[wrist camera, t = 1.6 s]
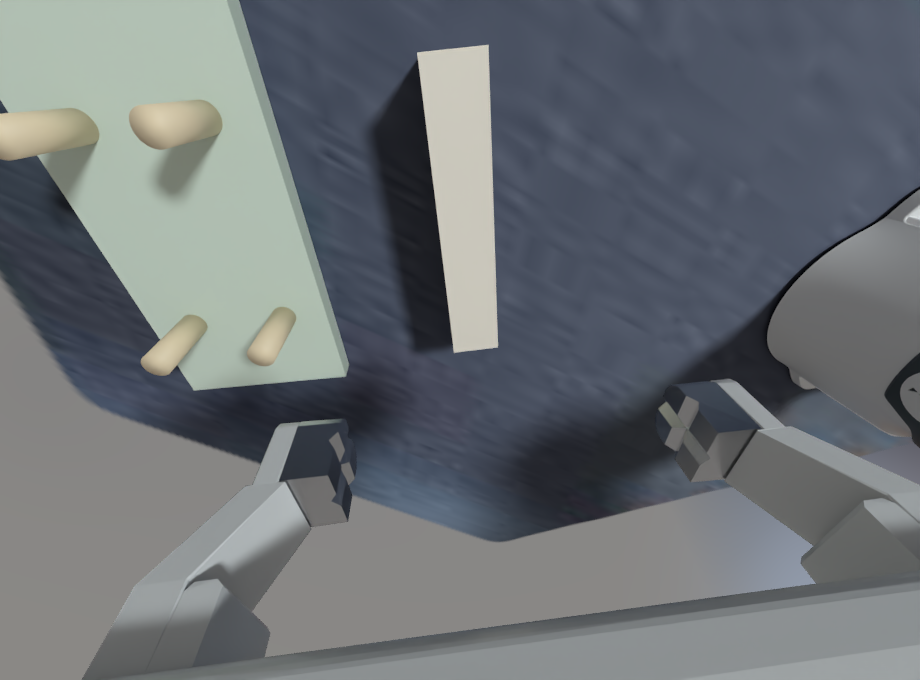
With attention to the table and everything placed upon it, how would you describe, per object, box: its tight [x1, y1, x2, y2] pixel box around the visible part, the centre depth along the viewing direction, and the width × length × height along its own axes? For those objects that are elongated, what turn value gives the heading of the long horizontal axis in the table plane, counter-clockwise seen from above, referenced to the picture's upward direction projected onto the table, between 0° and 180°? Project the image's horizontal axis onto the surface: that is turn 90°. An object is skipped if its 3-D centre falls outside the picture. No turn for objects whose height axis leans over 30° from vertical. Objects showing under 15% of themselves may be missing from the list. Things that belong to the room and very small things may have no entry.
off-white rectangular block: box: [417, 45, 498, 352], centre depth 22 cm, size 16×3×5 cm, turn 5°
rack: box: [0, 0, 349, 390], centre depth 21 cm, size 24×12×6 cm, turn 3°
